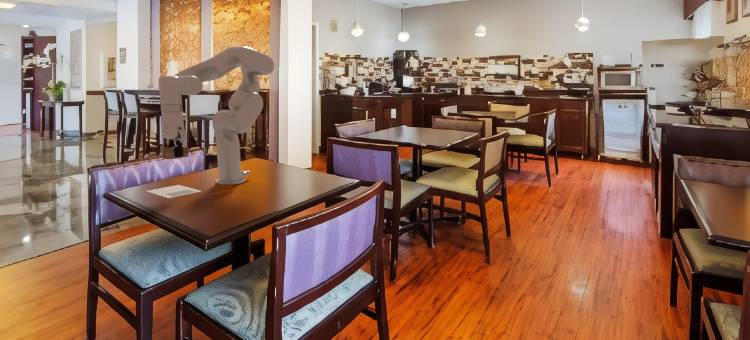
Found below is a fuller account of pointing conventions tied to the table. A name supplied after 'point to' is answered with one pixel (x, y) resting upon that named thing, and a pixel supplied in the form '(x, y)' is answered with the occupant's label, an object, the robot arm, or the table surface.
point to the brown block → (169, 153)
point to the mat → (173, 191)
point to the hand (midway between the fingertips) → (175, 155)
